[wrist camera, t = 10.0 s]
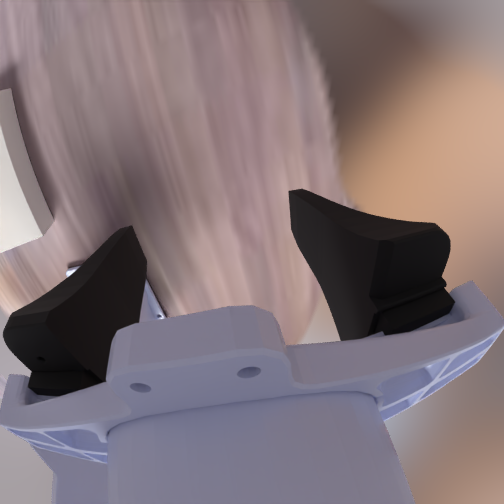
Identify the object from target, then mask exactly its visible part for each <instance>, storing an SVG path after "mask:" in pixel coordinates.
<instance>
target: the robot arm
mask: <svg viewBox="0 0 504 504" xmlns="http://www.w3.org/2000/svg"><path fill="white" fill-rule="evenodd" d="M289 204H290V218H291V230H292V233H293V235H294V238H295V240H296V243H297V245H298V247H299V249H300V251H301V252H302V254H303V256H304V258H305V259H306V261H307V263H308V264H309V266H310V268H311V270H312V271H313V273H314V275H315V277H316V278H317V280H318V282H319V284H320V286H321V288H322V291H323V293H324V295H325V298H326V300H327V303H328V305H329V308H330V311H331V313H332V316H333V319H334V322H335V324H336V327H337V330H338V333H339V336H340V340H341V341H336V342H325V343H314V344H313V343H312V344H297V345H285V342H284V339H283V336H282V332H281V329H280V326H279V324H278V322H277V321H276V319H275V317H274V316H273V314H272V313H271V312H269V311H266V310H263V309H261V308H258V307H256V306H252V305H248V306H228V307H223V308H218V309H213V310H208V311H203V312H197V313H192V314H187V315H182V316H176V317H171V318H166V316H165V315H164V313H163V311H162V309H161V307H160V305H159V303H158V301H157V299H156V297H155V295H154V293H153V291H152V289H151V287H150V285H149V283H148V281H147V279H146V272H147V260H146V258H145V256H144V253H143V251H142V249H141V246H140V244H139V241H138V239H137V237H136V234H135V232H134V229H133V227H132V226H128V227H124V228H121V229H119V230H118V231H116V232H115V233H114V234H113V235H112V236H111V237H110V238H109V239H108V240H107V241H106V242H105V243H104V244H103V245H102V246H101V247H100V248H99V249H98V250H97V251H96V252H95V253H94V254H93V255H92V256H90V257H89V258H88V259H87V260H86V261H85V262H84V263H83V264H82V265H81V266H77V267H73V268H69V269H68V270H67V272H66V275H67V277H68V278H66V279H65V280H64V281H62V282H61V283H60V284H58V285H57V286H56V287H54V288H53V289H52V290H50V291H49V292H47V293H46V294H44V295H43V296H41V297H40V298H38V299H37V300H35V301H33V302H32V303H30V304H28V305H26V306H24V307H22V308H21V309H19V310H17V311H15V312H13V313H12V314H11V315H10V317H9V320H8V322H7V324H6V326H5V328H4V331H3V338H4V341H5V343H6V345H7V346H8V348H9V349H10V350H11V351H12V353H13V354H14V355H15V356H16V357H17V358H18V359H19V360H20V361H21V362H22V363H23V364H24V365H25V366H26V367H28V369H30V370H31V371H32V373H31V376H30V378H29V377H28V376H25V375H17V374H16V375H15V374H10V375H9V377H8V380H7V384H6V387H5V391H4V395H3V399H2V403H1V408H0V425H1V426H2V427H4V428H5V429H7V430H8V431H10V432H11V433H13V434H15V435H16V436H18V437H20V438H21V439H23V440H25V441H27V442H28V443H29V444H30V445H31V447H32V448H33V449H34V450H35V452H36V453H37V454H38V455H39V456H40V457H41V459H42V460H43V461H44V462H45V463H46V464H47V465H48V466H49V468H50V469H51V470H52V471H53V484H52V504H415V501H414V498H413V495H412V493H411V490H410V487H409V485H408V482H407V479H406V476H405V474H404V471H403V468H402V466H401V463H400V461H399V458H398V455H397V453H396V450H395V448H394V446H393V443H392V441H391V438H390V436H389V433H388V431H387V428H386V426H385V424H384V421H386V420H388V419H390V418H391V417H393V416H395V415H397V414H399V413H401V412H402V411H404V410H406V409H408V408H410V407H411V406H413V405H415V404H416V403H418V402H420V401H421V400H423V399H424V398H426V397H428V396H429V395H431V394H432V393H434V392H435V391H437V390H438V389H440V388H442V387H443V386H445V385H446V384H447V383H449V382H450V381H452V380H453V379H455V378H456V377H458V376H459V375H461V374H462V373H463V372H465V371H466V370H468V369H469V368H471V367H472V366H473V365H475V364H476V363H477V362H478V361H479V360H480V359H481V358H482V357H483V355H484V354H485V353H486V352H487V350H488V349H489V348H490V347H491V345H492V344H493V343H494V341H495V340H496V338H497V337H498V336H499V335H500V333H501V332H502V330H503V329H504V319H503V317H502V316H501V315H500V314H499V312H498V311H497V310H496V308H495V307H494V306H493V304H492V303H491V302H490V301H489V300H488V298H487V297H486V296H485V295H484V294H483V292H482V291H481V290H480V289H479V288H478V287H477V286H476V284H475V283H474V282H473V281H468V282H467V283H464V284H462V285H460V286H458V287H456V288H454V289H453V290H452V291H451V292H450V293H448V292H447V291H446V290H445V288H444V287H446V285H447V284H446V281H445V280H444V279H443V278H442V274H443V272H444V269H445V266H446V263H447V261H448V258H449V254H450V239H449V236H448V235H447V234H446V233H445V232H444V231H443V230H442V229H441V228H440V227H439V226H438V225H436V224H435V223H427V222H410V221H403V220H395V219H389V218H384V217H380V216H375V215H371V214H367V213H364V212H360V211H357V210H354V209H351V208H348V207H346V206H343V205H340V204H338V203H335V202H333V201H330V200H328V199H326V198H324V197H321V196H319V195H317V194H314V193H312V192H310V191H307V190H304V189H297V190H292V191H289ZM158 314H160V315H158Z"/></svg>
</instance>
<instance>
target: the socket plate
mask: <svg viewBox="0 0 504 504" xmlns="http://www.w3.org/2000/svg"><path fill="white" fill-rule="evenodd" d="M53 223H54V219H53V217H52V215H51V212H50V210H49V208H48V206H47V203H46V201H45V199H44V196H43V194H42V191H41V189H40V186H39V184H38V181H37V179H36V176H35V173H34V171H33V168H32V165H31V162H30V159H29V156H28V153H27V150H26V147H25V144H24V140H23V137H22V133H21V130H20V126H19V122H18V118H17V114H16V110H15V105H14V101H13V96H12V90H11V88H9V89H4V90H0V253H2V252H4V251H7V250H9V249H12V248H14V247H17V246H19V245H22V244H24V243H27V242H29V241H32V240H35V239H37V238H40V237H43V236H44V234H45V233H46V232H47V230H48V229H49V228H50V226H51V225H52V224H53Z"/></svg>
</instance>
